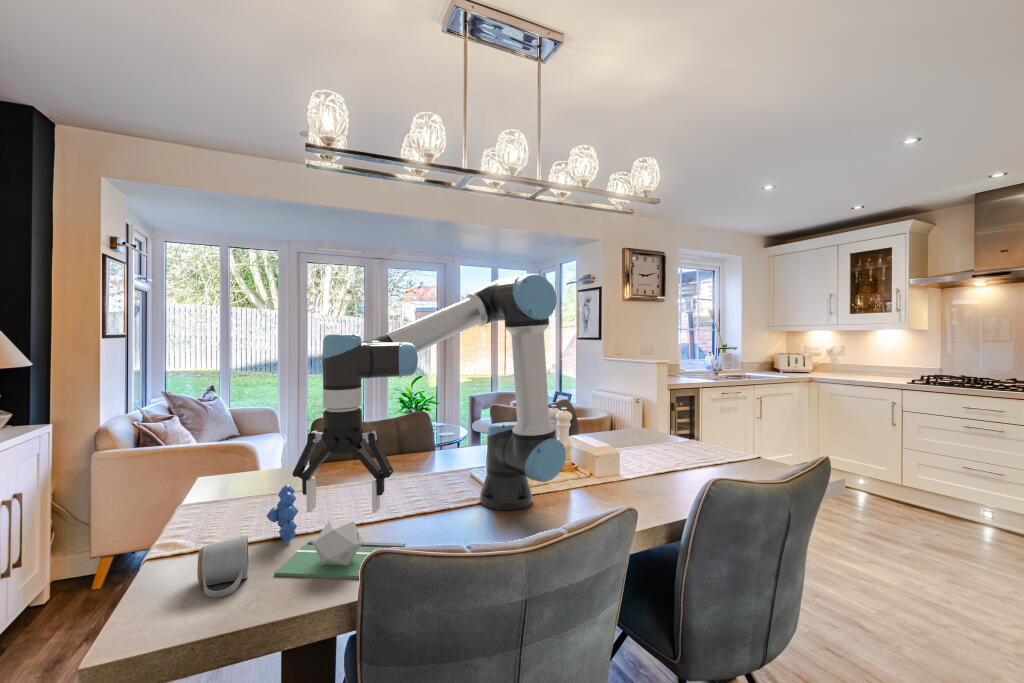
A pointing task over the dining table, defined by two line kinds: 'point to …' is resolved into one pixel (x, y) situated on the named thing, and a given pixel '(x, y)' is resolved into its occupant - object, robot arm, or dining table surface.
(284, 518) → the grapes
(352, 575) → the felt mat
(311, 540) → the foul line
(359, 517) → the dining table surface
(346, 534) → the die
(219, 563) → the ceramic mug
